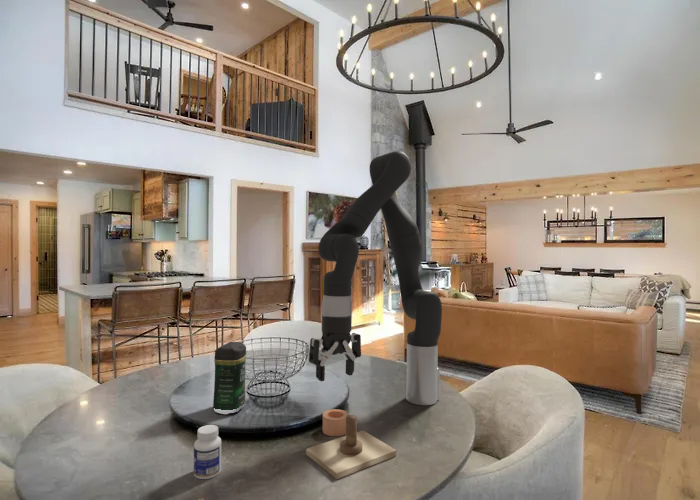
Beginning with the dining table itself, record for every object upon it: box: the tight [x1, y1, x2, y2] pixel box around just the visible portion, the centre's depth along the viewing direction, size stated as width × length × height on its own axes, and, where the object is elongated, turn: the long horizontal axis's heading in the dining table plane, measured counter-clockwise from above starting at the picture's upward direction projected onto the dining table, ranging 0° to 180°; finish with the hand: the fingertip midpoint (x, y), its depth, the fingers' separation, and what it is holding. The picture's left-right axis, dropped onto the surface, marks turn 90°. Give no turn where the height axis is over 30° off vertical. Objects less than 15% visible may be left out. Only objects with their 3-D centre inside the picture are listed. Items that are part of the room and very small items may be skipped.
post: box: [340, 414, 362, 455], centre depth 89 cm, size 5×5×7 cm
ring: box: [322, 408, 349, 437], centre depth 101 cm, size 6×6×4 cm
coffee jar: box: [212, 341, 247, 410], centre depth 114 cm, size 10×8×19 cm
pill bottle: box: [193, 424, 222, 480], centre depth 82 cm, size 5×5×9 cm
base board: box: [305, 430, 397, 480], centre depth 89 cm, size 16×12×1 cm
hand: (335, 377), depth 101 cm, fingers open, 8 cm apart
